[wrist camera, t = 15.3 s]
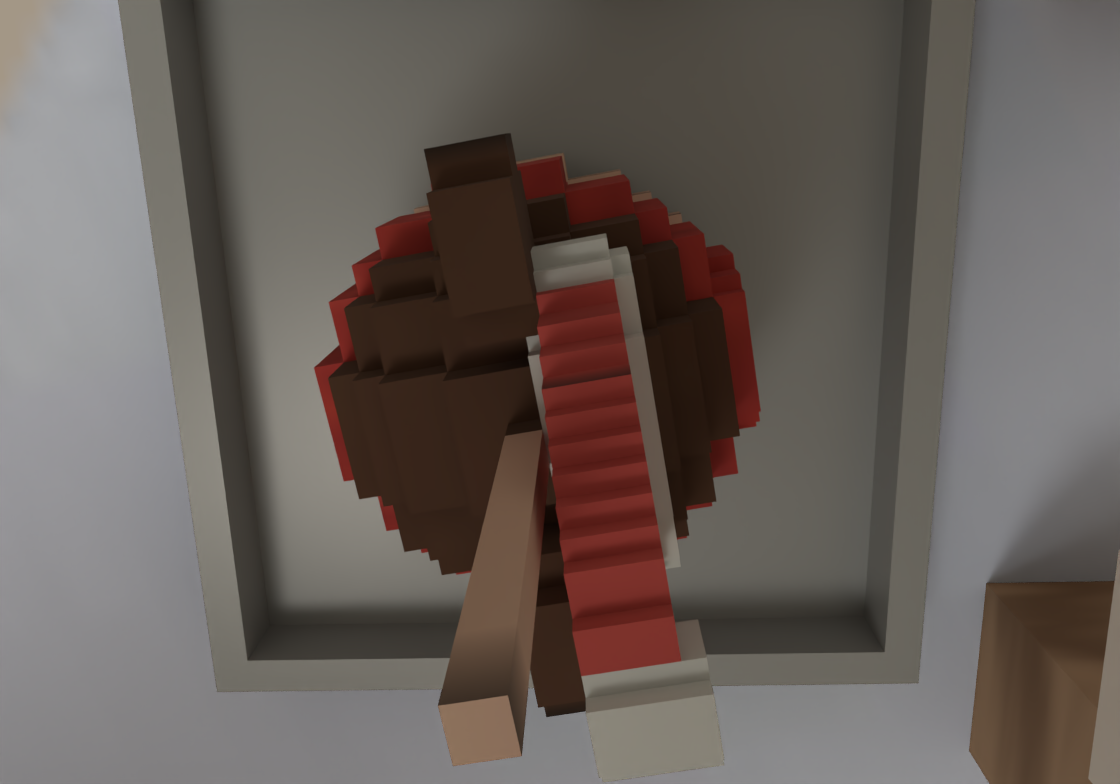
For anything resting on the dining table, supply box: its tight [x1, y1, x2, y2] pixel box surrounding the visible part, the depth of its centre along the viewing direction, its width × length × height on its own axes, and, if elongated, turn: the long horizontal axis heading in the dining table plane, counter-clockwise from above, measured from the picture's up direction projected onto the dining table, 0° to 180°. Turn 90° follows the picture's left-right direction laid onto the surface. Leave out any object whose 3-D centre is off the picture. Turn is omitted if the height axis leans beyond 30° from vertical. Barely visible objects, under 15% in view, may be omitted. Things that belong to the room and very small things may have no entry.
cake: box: [314, 133, 761, 782], centre depth 18 cm, size 11×9×18 cm
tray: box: [118, 0, 976, 692], centre depth 26 cm, size 20×20×3 cm
